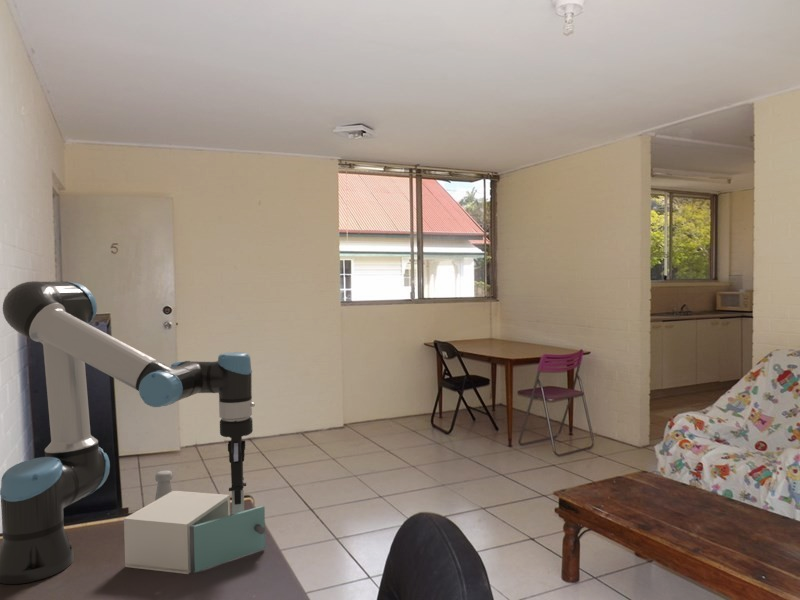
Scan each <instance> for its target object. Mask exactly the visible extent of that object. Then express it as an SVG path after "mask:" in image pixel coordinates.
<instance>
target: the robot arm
mask: <svg viewBox="0 0 800 600" xmlns="http://www.w3.org/2000/svg"><path fill="white" fill-rule="evenodd" d="M2 303H3V304H2V314H3V318H4V319H5V321H6V322H7V324H8V325H9V326H10V327H11V328H12V329H13V330H15V331H16V332H17V333H19V334H21V335H23V336H24V337H27V338H29V339H30V340H32V341H34V342H37V343H41V344H42V347H43V358H44V369H45V383H46V392H47V393H46V395H47V406H48V417H49V428H50V430H49V431H50V443H49V444H48V445H47V446H46V447H45V448H44V456H41V457H33V458H32V459H29V460H25V461H21V462H19V463H16V464H14V465H12V466H10V468H8V469H7V470H6V471H5V472H4V473H3V475H2V477H1V480H0V481H1V483H0V503H1V504H0V507H1V510H0V511H1V528H2V529H1V531H2V541H1V545H0V584H3V585H18V584H26V583H32V582H36V581H40V580H41V581H42V580H43V579H47V578H49V577H52V576H54V575H56V574H58V573H60V572H62V571H64V570H66V569H67V568H69V566H71V565H72V564H73V561H74V548H73V545H72V544H71V543H70V540H69V536H68V534H67V532H66V529H65V526H64V525H65V524H64V509H65V508H66V507H68V506H71V505H72V504H74V503H76V502H78V501H79V500H81V499H82V498H83V499H84V498H85V497H88V496H90V495H91V494H93V493H94V492H96V491H97V490H98V489H100V488H101V487H102V486H103V485H104V483H105V482H107V479H108V476H109V475H110V468H111V464H110V463H111V462H110V459H109V456H108V454H107V452H104V449H103V448H101V447H100V446H99V440H98V439H97V438H96V437H94V436H93V435H92V434H91V425H90V410H89V408H90V407H89V399H88V387H87V385H88V383H87V376H86V375H87V374H86V371H87V370H86V364H87V365H89V366H91V367H93V368H94V369H97V370H98V371H100V372H102V373H104V374H105V375H106V374H107V375H108V376H110V377H112V378H114V379H115V380H116V381H117V380H118V381H119V382H121V383H123V384H125V386H126V385H127V386H128V387H130V388H132V389H134V390H136V391H137V392H138V394H139V396H140V398H141V399H142V401H143V403H144V404H146V405H147V406H149V407H152V408H161V407H166V406H169V405H172V404H174V403H176V402H179V401H181V400H183V399H185V398H188V397H189V398H190V396H193V395H196V394H218V399H219V400H218V411H219V412H218V414H219V415H218V416H219V418H220V420H219V433H220V436H221V437H223V438H230V440H228V441H227V443H228V444H227V451H228V462H229V463H230V476H231V477H230V479H231V480H230V481H231V487H229V488H228V492H231V513H232V514H235V513H239V512H242V511H245V494H244V493H245V489H244V488H245V487H247V482H244V480H245V477H244V465H243V464H244V461H245V451H246V439H243V437H244V436H245V437H246V436H249V435H251V434H252V433H253V431H254V429H253V427H254V425H253V418H252V417H251V416H252V415H253V408H254V407H255V402H253V401H252V400H253V399H252V398H253V396H252V395H253V394H252V388H253V387H252V380H253V379H252V373H253V371H252V365H251V364H252V363H251V361H252V360H251V355H249V353H247V352H241V351H240V352H239V351H236V352H224V353H221V354H219V355H218V358H217V360H216V361H191V360H184V361H175V362H173V363H171V365H170V366H169V365H166V364H165V363H162V362H160V361H158V359H155V358H154V357H151V356H150V355H148V354H146V353H144V352H142V351H140V350H138V349H137V348H135V347H132V346H131V345H129V344H127V343H125V342H124V341H121V340H119V339H117V338H116V337H114V336H112V335H110V334H108V333H106V332H104V331H102V330H100V329H98V327H95V326H93V325H91V324H90V323H92V321H93V320H94V318H96V315H97V311H98V308H97V307H98V306H97V301H96V298H95V296H94V294H93V293H92V292H91V290H90V289H89V288H87V287H86V286H85V285H83V284H81V283H78V282H73V281H63V280H60V281H38V280H36V281H35V280H34V281H25V282H23V283H20V284H17V285H16V286H14V287H13V288H12V289H10V290H9V291H8V292H7V294H6V295H5V297H4V299H3V302H2ZM232 514H231V515H232Z"/></svg>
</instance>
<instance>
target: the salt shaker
mask: <svg viewBox="0 0 800 600" xmlns="http://www.w3.org/2000/svg"><path fill="white" fill-rule="evenodd" d="M154 479H155V481H156V482H157V485H156V491H155V499H154V501H156V500H157V499H159V498H161V497H163V496H165V495H166V494H168V493H170V492H172V491H173V489H172V483H171V481H172V479H173V472H172V471H171V470H161V471H158V472H156V474H155V478H154Z"/></svg>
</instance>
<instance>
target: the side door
mask: <svg viewBox="0 0 800 600" xmlns="http://www.w3.org/2000/svg"><path fill="white" fill-rule="evenodd" d="M265 509H266V508H265V505H260V506H257V507H253V508H250V509H246V510H244V511H242V512H239V513H235V514H230V515H229V516H225V517H222V518H218V519H215V520H211V521H208V522H205V523H201V524H198V525H191V526H190V566H191V572H190V573H192V574H193V573H197V572H200V571H204V570H206V569H209V568H212V567H215V566H218V565H221V564H224V563H226V562H229V561H233V560H235V559H238V558H241V557H243V556H247V555H249V554H253V553H255V552H258V551H260V550H264V549H266V518H265V516H266V515H265V513H266V511H265Z"/></svg>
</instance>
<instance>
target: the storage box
mask: <svg viewBox="0 0 800 600" xmlns="http://www.w3.org/2000/svg"><path fill="white" fill-rule="evenodd" d="M229 515H231V495H230V494H222V493H211V492H210V493H209V492H198V491H197V492H195V491H193V492H192V491H183V490H182V491H180V490H172V492H170V493H168V494H166V495H165V496H163V497H161V498H159V499H157V500H156V501H155V500H154V501H152V502H151V503H149V504H147V505H145V506H144V507H142V508H140V509H139V510H137V511H135V512H133V513H131V514H129V515H127V516H126V517H124V518H123V533H124V534H123V536H124V537H123V538H124V563H125V564H124V566H125V568H133V569H141V570H149V571H150V570H151V571H158V572H168V573H176V574H184V575H189V574H190V573H192V572H191V566H190V526H191V525H198V524H201V523H205V522H208V521H211V520H215V519H218V518H222V517H225V516H229Z"/></svg>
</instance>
